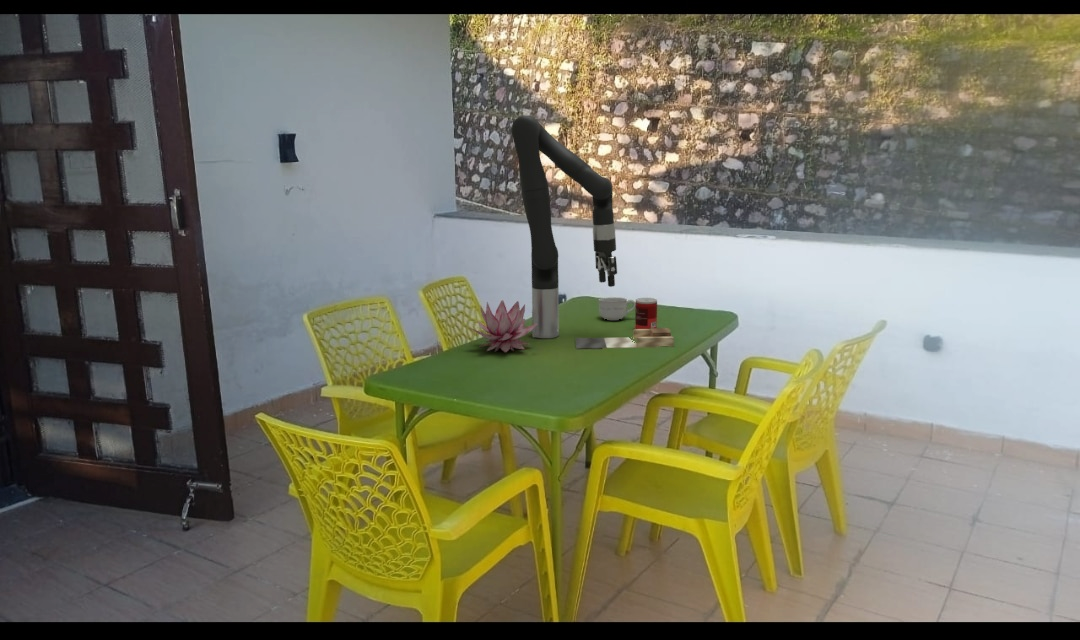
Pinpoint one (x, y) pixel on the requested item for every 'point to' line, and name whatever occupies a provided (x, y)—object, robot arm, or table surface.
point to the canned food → (646, 313)
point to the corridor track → (625, 341)
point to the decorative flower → (504, 327)
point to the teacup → (614, 307)
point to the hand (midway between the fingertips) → (607, 284)
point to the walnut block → (660, 332)
